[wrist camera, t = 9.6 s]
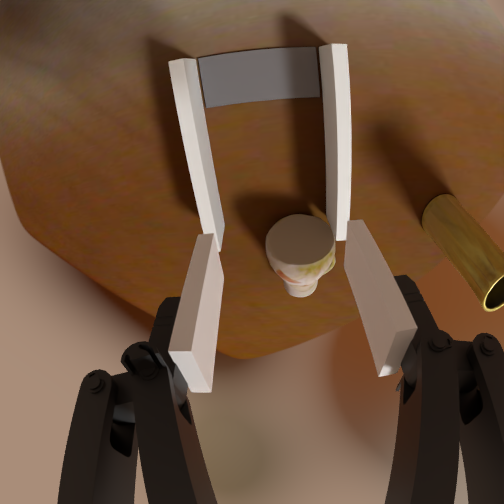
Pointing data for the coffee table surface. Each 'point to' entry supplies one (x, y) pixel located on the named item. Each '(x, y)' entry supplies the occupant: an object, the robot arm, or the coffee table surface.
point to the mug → (300, 252)
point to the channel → (258, 89)
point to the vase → (467, 248)
